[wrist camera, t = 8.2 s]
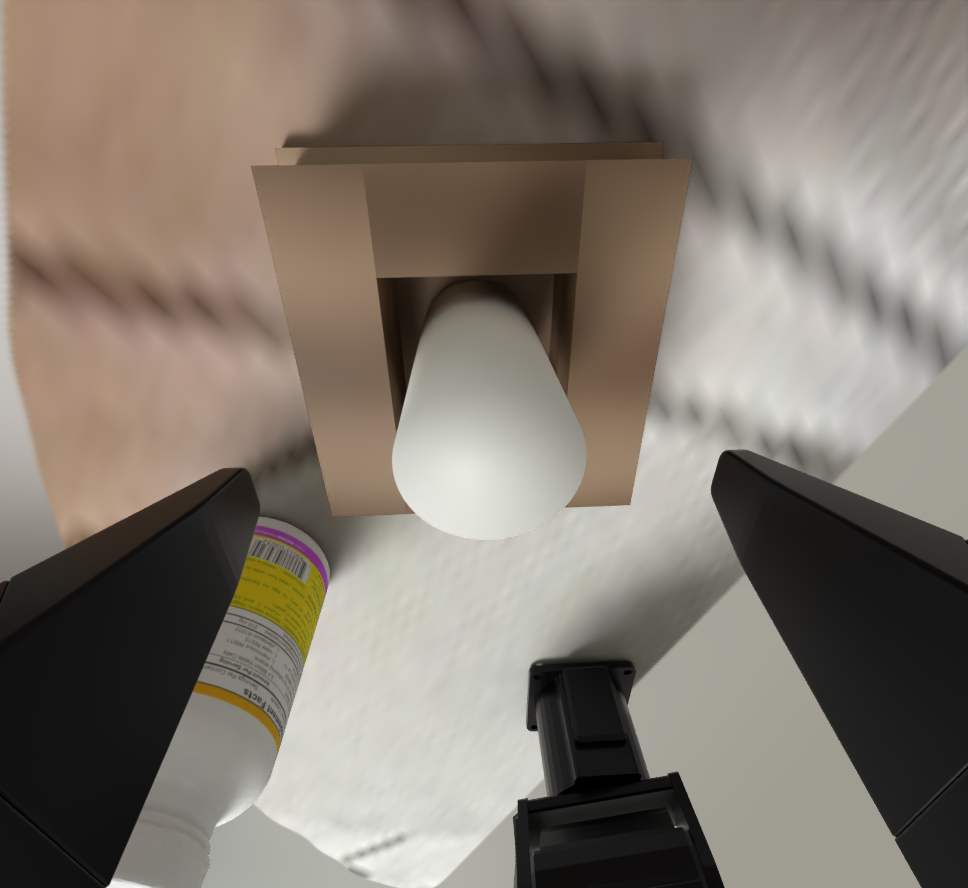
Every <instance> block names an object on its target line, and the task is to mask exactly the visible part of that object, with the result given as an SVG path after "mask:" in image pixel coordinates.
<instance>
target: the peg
mask: <svg viewBox="0 0 968 888" xmlns="http://www.w3.org/2000/svg"><path fill="white" fill-rule="evenodd" d="M586 456H587V451H586V442H585V438H584V435H583V431H582V429H581V427H580V424H579V422H578V420H577V418H576V416H575V414H574V412H573V410H572V407H571V405H570V403H569V401H568V399H567V397H566V395H565V393H564V391H563V388H562V386H561V384H560V382H559V380H558V378H557V376H556V374H555V372H554V369H553V367H552V365H551V363H550V361H549V359H548V357H547V355H546V353H545V350H544V348H543V346H542V344H541V342H540V340H539V338H538V336H537V334H536V331H535V329H534V327H533V325H532V323H531V321H530V319H529V317H528V314H527V312H526V310H525V308H524V306H523V305H522V303H521V302H520V300H519V299H518V298H517V297H516V295H514V294H513V293H512V292H511V291H510V290H509V289H507V288H506V287H504V286H502V285H500V284H498V283H495V282H492V281H489V280H483V279H471V280H465V281H461V282H458V283H456V284H453V285H451V286H450V287H448V288H446V289H445V290H444V291H442V292H441V293H440V294H439V295H438V296H437V297H436V298H435V299H434V301H433V302H432V303H431V305H430V307H429V309H428V311H427V313H426V316H425V320H424V323H423V328H422V332H421V336H420V340H419V344H418V348H417V352H416V356H415V360H414V364H413V368H412V372H411V377H410V381H409V385H408V389H407V393H406V397H405V401H404V405H403V409H402V413H401V417H400V421H399V426H398V430H397V434H396V438H395V442H394V446H393V453H392V469H393V474H394V479H395V482H396V485H397V487H398V490H399V492H400V494H401V495H402V497H403V499H404V500H405V502H406V503H407V504H408V506H409V507H410V508H411V509H412V510H413V511H414V512H415V513H416V514H417V515H418V516H419V517H420V518H422V519H423V520H424V521H425V522H427V523H428V524H430V525H432V526H433V527H435V528H437V529H439V530H441V531H444V532H446V533H449V534H452V535H455V536H458V537H463V538H468V539H476V540H495V539H504V538H509V537H514V536H517V535H521V534H524V533H527V532H529V531H531V530H534V529H536V528H538V527H540V526H541V525H543V524H545V523H546V522H548V521H549V520H551V519H552V518H554V517H555V516H556V515H557V514H558V513H559V512H561V511H562V510H563V509H564V508H565V506H566V505H567V504H568V503H569V502H570V501H571V499H572V498H573V496H574V495H575V493H576V492H577V490H578V488H579V486H580V484H581V481H582V478H583V475H584V472H585V467H586Z"/></svg>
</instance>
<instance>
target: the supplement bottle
mask: <svg viewBox="0 0 968 888" xmlns="http://www.w3.org/2000/svg"><path fill="white" fill-rule="evenodd" d="M329 578H330V570H329V565H328V562H327V559H326V557H325V555H324V553H323V552H322V550H321V549H320V547H319V546H318V545H317V543H316V542H315V541H314V540H313V539H312V538H311V537H309V536H308V535H307V534H306V533H304V532H303V531H301V530H300V529H298V528H296V527H294V526H292V525H290V524H288V523H285V522H283V521H280V520H276V519H272V518H267V517H259V518H258V522H257V525H256V529H255V532H254V535H253V539H252V542H251V545H250V549H249V552H248V555H247V559H246V562H245V566H244V569H243V572H242V575H241V578H240V581H239V584H238V587H237V589H236V592H235V594H234V597H233V599H232V602H231V604H230V606H229V609H228V611H227V613H226V616H225V618H224V620H223V623H222V625H221V627H220V630H219V632H218V634H217V637H216V639H215V641H214V644H213V646H212V648H211V651H210V653H209V655H208V657H207V660H206V662H205V664H204V667H203V669H202V671H201V674H200V676H199V678H198V681H197V683H196V685H195V688H194V690H193V692H192V695H191V697H190V699H189V702H188V704H187V706H186V709H185V711H184V713H183V716H182V718H181V720H180V723H179V725H178V727H177V730H176V732H175V734H174V737H173V739H172V741H171V744H170V746H169V748H168V751H167V753H166V755H165V758H164V760H163V762H162V765H161V767H160V769H159V771H158V774H157V776H156V778H155V781H154V783H153V785H152V788H151V790H150V792H149V795H148V797H147V799H146V802H145V804H144V806H143V809H142V811H141V813H140V816H139V818H138V820H137V823H136V825H135V827H134V830H133V832H132V834H131V837H130V839H129V841H128V844H127V846H126V848H125V851H124V853H123V855H122V858H121V860H120V862H119V865H118V867H117V869H116V872H115V874H114V876H113V878H112V881H111V883H110V885H109V886H108V887H106V888H201V886H202V883H203V880H204V878H205V875H206V873H207V871H208V869H209V866H210V859H209V856H208V855H209V852H210V843H209V840H210V838H211V836H212V833H213V831H214V828H215V827H217V826H220V825H222V824H224V823H226V822H228V821H230V820H232V819H234V818H235V817H237V816H238V815H240V814H241V813H242V812H244V811H245V810H246V809H248V808H249V807H250V806H251V805H252V804H253V803H254V802H255V801H256V800H257V798H258V797H259V796H260V794H261V793H262V792H263V790H264V788H265V787H266V785H267V783H268V781H269V779H270V776H271V773H272V770H273V767H274V764H275V761H276V758H277V755H278V751H279V748H280V745H281V742H282V738H283V735H284V731H285V728H286V724H287V721H288V718H289V714H290V711H291V708H292V705H293V701H294V698H295V695H296V691H297V688H298V685H299V682H300V679H301V675H302V671H303V668H304V664H305V661H306V658H307V655H308V652H309V648H310V645H311V642H312V639H313V635H314V632H315V629H316V625H317V622H318V619H319V615H320V612H321V609H322V606H323V602H324V599H325V595H326V592H327V588H328V585H329Z"/></svg>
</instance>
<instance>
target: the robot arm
mask: <svg viewBox="0 0 968 888" xmlns="http://www.w3.org/2000/svg"><path fill="white" fill-rule="evenodd" d="M711 494H712V498H713V501H714V503H715V505H716V508H717V510H718V513H719V515H720V517H721V520H722V522H723V524H724V527H725V529H726V531H727V534H728V536H729V539H730V541H731V543H732V546H733V548H734V550H735V553H736V555H737V557H738V559H739V561H740V563H741V565H742V567H743V569H744V571H745V573H746V575H747V577H748V578H749V580H750V582H751V584H752V585H753V587H754V589H755V591H756V592H757V594H758V596H759V598H760V600H761V602H762V603H763V605H764V607H765V608H766V610H767V612H768V614H769V616H770V618H771V619H772V621H773V623H774V625H775V627H776V628H777V630H778V632H779V634H780V635H781V637H782V639H783V641H784V642H785V644H786V646H787V648H788V650H789V651H790V653H791V655H792V657H793V659H794V660H795V662H796V664H797V666H798V668H799V669H800V671H801V673H802V675H803V676H804V678H805V680H806V682H807V684H808V685H809V687H810V689H811V691H812V692H813V694H814V696H815V698H816V699H817V701H818V703H819V705H820V707H821V709H822V710H823V712H824V714H825V716H826V717H827V719H828V721H829V723H830V724H831V726H832V728H833V730H834V732H835V733H836V735H837V737H838V739H839V741H840V742H841V744H842V746H843V748H844V749H845V751H846V753H847V755H848V757H849V758H850V760H851V762H852V764H853V766H854V767H855V769H856V771H857V773H858V774H859V776H860V778H861V780H862V782H863V783H864V785H865V787H866V789H867V791H868V792H869V794H870V796H871V798H872V799H873V801H874V803H875V804H876V806H877V808H878V810H879V812H880V814H881V815H882V817H883V819H884V821H885V823H886V824H887V826H888V828H889V830H890V831H891V833H892V835H893V836H895V837H896V838H895V841H896V843H897V845H898V846H899V848H900V850H901V852H902V854H903V855H904V857H905V859H906V861H907V862H908V864H909V866H910V868H911V870H912V871H913V873H914V875H915V877H916V878H917V880H918V882H919V884H920V886H921V887H922V888H968V540H964V538H963V537H961V536H959V535H957V534H954V533H951V532H949V531H947V530H944V529H941V528H939V527H937V526H934V525H932V524H929V523H927V522H924V521H922V520H919V519H917V518H914V517H912V516H909V515H907V514H904V513H902V512H899V511H897V510H895V509H892V508H890V507H887V506H885V505H882V504H880V503H877V502H875V501H872V500H870V499H867V498H865V497H862V496H860V495H858V494H855V493H852V492H850V491H848V490H845V489H843V488H840V487H838V486H835V485H833V484H830V483H828V482H825V481H823V480H820V479H818V478H815V477H813V476H811V475H808V474H806V473H803V472H801V471H798V470H796V469H793V468H791V467H788V466H786V465H783V464H781V463H778V462H776V461H773V460H771V459H768V458H766V457H764V456H761V455H759V454H756V453H754V452H751V451H749V450H743V449H742V450H726V451H724V452H723V453H722V454H721V455H720V457H719V460H718V464H717V467H716V471H715V474H714V478H713V481H712V485H711ZM259 515H260V503H259V500H258V497H257V494H256V491H255V488H254V485H253V481H252V478H251V475H250V473H249V472H248V470H246V469H245V468H223V469H220V470H218V471H216V472H214V473H212V474H210V475H208V476H206V477H204V478H202V479H201V480H199V481H197V482H195V483H193V484H191V485H189V486H187V487H185V488H183V489H181V490H179V491H177V492H175V493H173V494H172V495H170V496H168V497H166V498H164V499H162V500H160V501H158V502H156V503H154V504H152V505H150V506H148V507H146V508H144V509H143V510H141V511H139V512H137V513H135V514H133V515H131V516H129V517H127V518H125V519H123V520H121V521H119V522H117V523H115V524H114V525H112V526H110V527H108V528H106V529H104V530H102V531H100V532H98V533H96V534H94V535H92V536H90V537H88V538H86V539H85V540H83V541H81V542H79V543H77V544H75V545H73V546H71V547H69V548H67V549H65V550H63V551H61V552H60V553H58V554H56V555H54V556H52V557H50V558H48V559H46V560H44V561H42V562H40V563H38V564H36V565H34V566H32V567H31V568H29V569H27V570H25V571H23V572H21V573H19V574H17V575H15V576H13V577H12V578H11V579H10V581H3V582H1V583H0V888H106V887H108V886H109V885H110V883H111V881H112V878H113V876H114V874H115V872H116V869H117V867H118V865H119V862H120V860H121V858H122V855H123V853H124V851H125V848H126V846H127V844H128V841H129V839H130V837H131V834H132V832H133V830H134V827H135V825H136V823H137V820H138V818H139V816H140V813H141V811H142V809H143V806H144V804H145V802H146V799H147V797H148V795H149V792H150V790H151V788H152V785H153V783H154V781H155V778H156V776H157V774H158V771H159V769H160V767H161V765H162V762H163V760H164V758H165V755H166V753H167V751H168V748H169V746H170V744H171V741H172V739H173V737H174V734H175V732H176V730H177V727H178V725H179V723H180V720H181V718H182V716H183V713H184V711H185V709H186V706H187V704H188V702H189V699H190V697H191V695H192V692H193V690H194V688H195V685H196V683H197V681H198V678H199V676H200V674H201V671H202V669H203V667H204V664H205V662H206V660H207V657H208V655H209V653H210V651H211V648H212V646H213V644H214V641H215V639H216V637H217V634H218V632H219V630H220V627H221V625H222V623H223V620H224V618H225V616H226V613H227V611H228V609H229V606H230V604H231V602H232V599H233V597H234V594H235V592H236V589H237V587H238V584H239V581H240V578H241V575H242V572H243V569H244V566H245V562H246V559H247V555H248V552H249V549H250V545H251V542H252V539H253V535H254V532H255V529H256V525H257V522H258V518H259ZM635 673H636V670H635V667H634V665H633V663H632V662H628V661H625V662H605V663H585V664H565V665H545V666H534V667H532V668H531V669H530V670H529V678H528V696H527V714H526V725H527V729H528V730H529V731H538V734H539V741H540V749H541V756H542V763H543V770H544V777H545V783H546V791H547V797H543V798H537V799H532V800H528V798H526V799H520V800H518V813H517V814H516V815H515V816H514V817H513V824H514V836H515V850H516V851H515V852H516V860H515V877H514V888H724V885H723V882H722V879H721V877H720V874H719V871H718V868H717V866H716V863H715V860H714V858H713V855H712V853H711V851H710V848H709V846H708V843H707V841H706V838H705V836H704V834H703V831H702V829H701V826H700V824H699V821H698V819H697V816H696V814H695V812H694V809H693V807H692V804H691V802H690V799H689V797H688V795H687V792H686V790H685V788H684V785H683V782H682V780H681V778H680V775H679V773H678V772H673V773H668V776H663V777H656V778H651V779H650V776H649V773H648V770H647V767H646V764H645V760H644V757H643V754H642V751H641V748H640V745H639V741H638V738H637V735H636V732H635V729H634V725H633V722H632V719H631V716H630V712H629V709H628V706H627V705H628V701H629V697H630V693H631V689H632V685H633V681H634V677H635ZM674 826H677V828H675V827H674Z"/></svg>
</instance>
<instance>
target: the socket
mask: <svg viewBox="0 0 968 888" xmlns="http://www.w3.org/2000/svg"><path fill="white" fill-rule="evenodd" d="M663 144H664V142H624V143H561V144H497V145H434V146H370V147H307V148H275V153H276V158H277V163H278V165H274V166H251V168H252V172H253V177H254V181H255V185H256V190H257V194H258V198H259V203H260V207H261V211H262V216H263V220H264V224H265V229H266V233H267V237H268V242H269V246H270V250H271V255H272V259H273V263H274V268H275V272H276V276H277V281H278V285H279V289H280V294H281V298H282V302H283V307H284V311H285V315H286V320H287V324H288V328H289V333H290V337H291V341H292V346H293V350H294V354H295V359H296V363H297V367H298V372H299V376H300V380H301V385H302V389H303V393H304V398H305V402H306V406H307V411H308V415H309V419H310V424H311V428H312V432H313V437H314V441H315V445H316V450H317V454H318V458H319V463H320V467H321V471H322V476H323V480H324V484H325V489H326V493H327V497H328V502H329V506H330V510H331V515H332V517H341V516H366V515H391V514H416V513H415V512H414V511H413V510H412V509H411V508H410V507H409V506H408V504H407V503H406V502H405V500H404V499H403V497H402V495H401V494H400V492H399V490H398V487H397V485H396V482H395V479H394V474H393V469H392V453H393V446H394V442H395V438H396V434H397V430H398V426H399V421H400V417H401V413H402V409H403V405H404V401H405V397H406V393H407V389H408V385H409V381H410V377H411V372H412V368H413V364H414V360H415V356H416V352H417V348H418V344H419V340H420V336H421V332H422V328H423V323H424V320H425V316H426V313H427V311H428V309H429V307H430V305H431V303H432V302H433V301H434V299H435V298H436V297H437V296H438V295H439V294H440V293H441V292H442V291H444V290H445V289H446V288H448V287H450V286H451V285H453V284H456V283H458V282H461V281H465V280H471V279H483V280H489V281H492V282H495V283H498V284H500V285H502V286H504V287H506V288H507V289H509V290H510V291H511V292H512V293H513V294H514V295H516V297H517V298H518V299H519V300H520V302H521V303H522V305H523V306H524V308H525V310H526V312H527V314H528V317H529V319H530V321H531V323H532V325H533V327H534V329H535V331H536V334H537V336H538V338H539V340H540V342H541V344H542V346H543V348H544V350H545V353H546V355H547V357H548V359H549V361H550V363H551V365H552V367H553V369H554V372H555V374H556V376H557V378H558V380H559V382H560V384H561V386H562V388H563V391H564V393H565V395H566V397H567V399H568V401H569V403H570V405H571V407H572V410H573V412H574V414H575V416H576V418H577V420H578V422H579V424H580V427H581V429H582V431H583V435H584V438H585V442H586V451H587V456H586V467H585V472H584V475H583V478H582V481H581V484H580V486H579V488H578V490H577V492H576V493H575V495H574V496H573V498H572V499H571V501H570V502H569V503H568V504H567V505H566V506H565V508H566V507H591V506H617V505H630V503H631V497H632V492H633V486H634V481H635V475H636V470H637V464H638V459H639V453H640V448H641V442H642V437H643V431H644V426H645V420H646V415H647V409H648V403H649V398H650V392H651V387H652V381H653V376H654V370H655V365H656V359H657V354H658V348H659V343H660V337H661V332H662V326H663V321H664V315H665V310H666V304H667V299H668V293H669V288H670V282H671V277H672V271H673V266H674V260H675V255H676V249H677V244H678V238H679V232H680V227H681V221H682V216H683V210H684V205H685V199H686V194H687V188H688V183H689V177H690V172H691V166H692V161H693V158H688V159H661V157H662V150H663Z"/></svg>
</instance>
